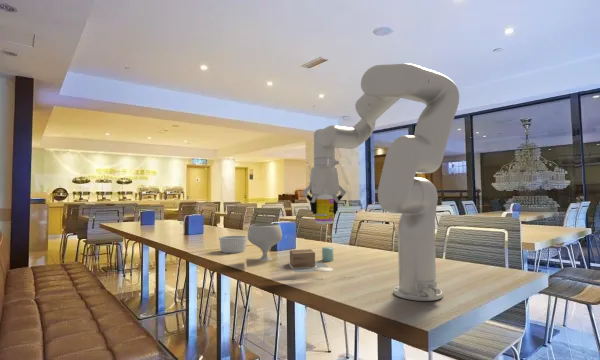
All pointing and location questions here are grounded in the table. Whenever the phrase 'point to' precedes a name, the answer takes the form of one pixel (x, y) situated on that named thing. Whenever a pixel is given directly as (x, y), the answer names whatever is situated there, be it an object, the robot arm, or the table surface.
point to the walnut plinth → (302, 258)
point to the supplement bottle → (324, 209)
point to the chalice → (264, 237)
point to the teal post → (327, 254)
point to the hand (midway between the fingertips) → (324, 213)
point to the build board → (313, 268)
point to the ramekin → (233, 244)
